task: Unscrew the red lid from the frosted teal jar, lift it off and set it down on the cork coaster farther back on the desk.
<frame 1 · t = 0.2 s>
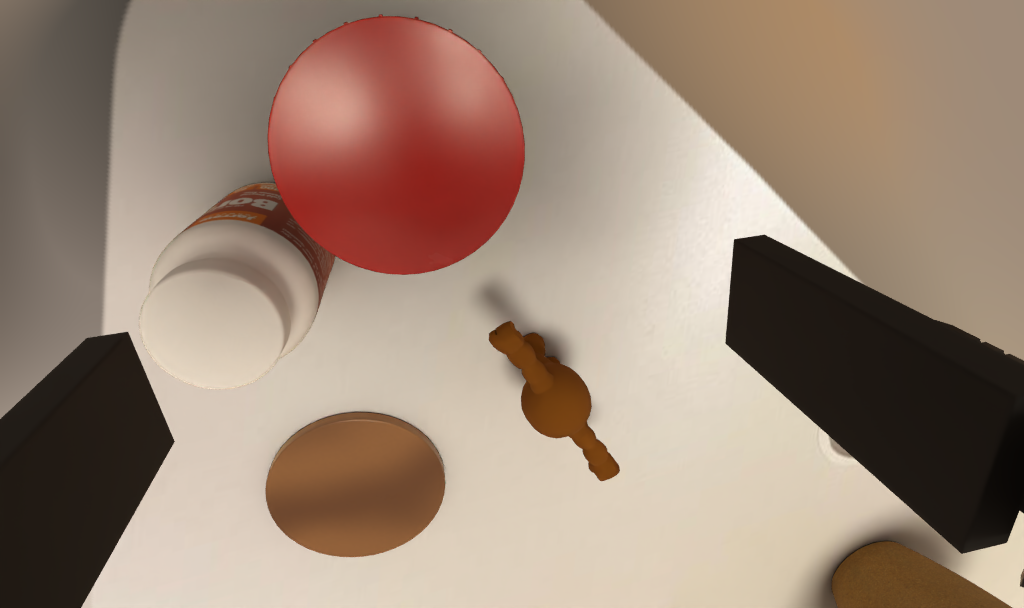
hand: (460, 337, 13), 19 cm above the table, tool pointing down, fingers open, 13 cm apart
toy figurine: (535, 356, 35), on the table
plant pot: (864, 571, 51), on the table
coaster: (358, 483, 37), on the table
pill bottle: (276, 238, 30), on the table
cap: (401, 154, 18), point 11 cm above the table, screwed on, not yet turned
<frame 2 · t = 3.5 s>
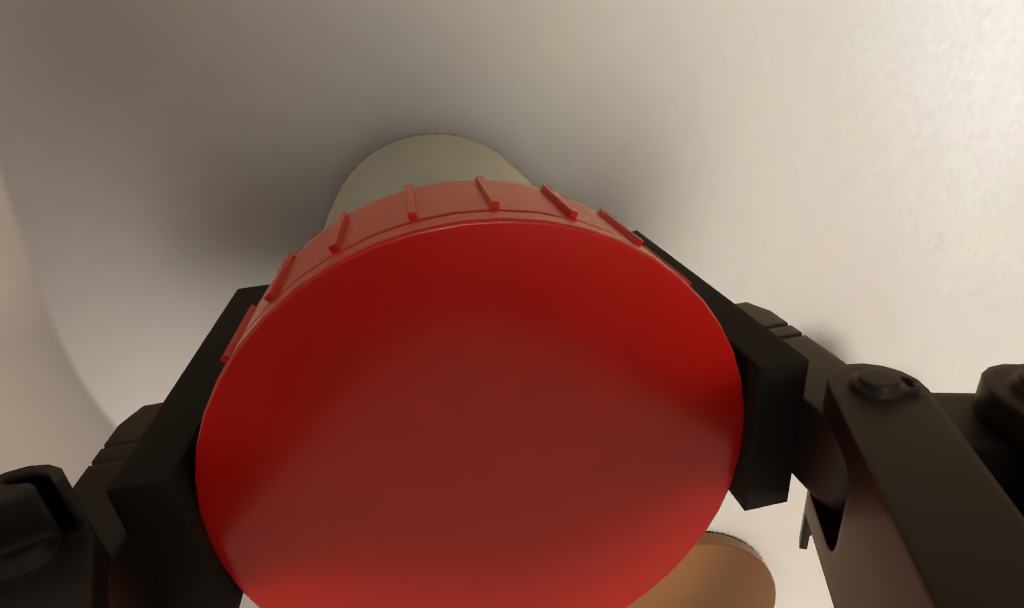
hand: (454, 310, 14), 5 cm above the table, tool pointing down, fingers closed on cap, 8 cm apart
jar: (438, 243, 19), on the table
cap: (489, 466, 9), point 11 cm above the table, screwed on, not yet turned, touching gripper
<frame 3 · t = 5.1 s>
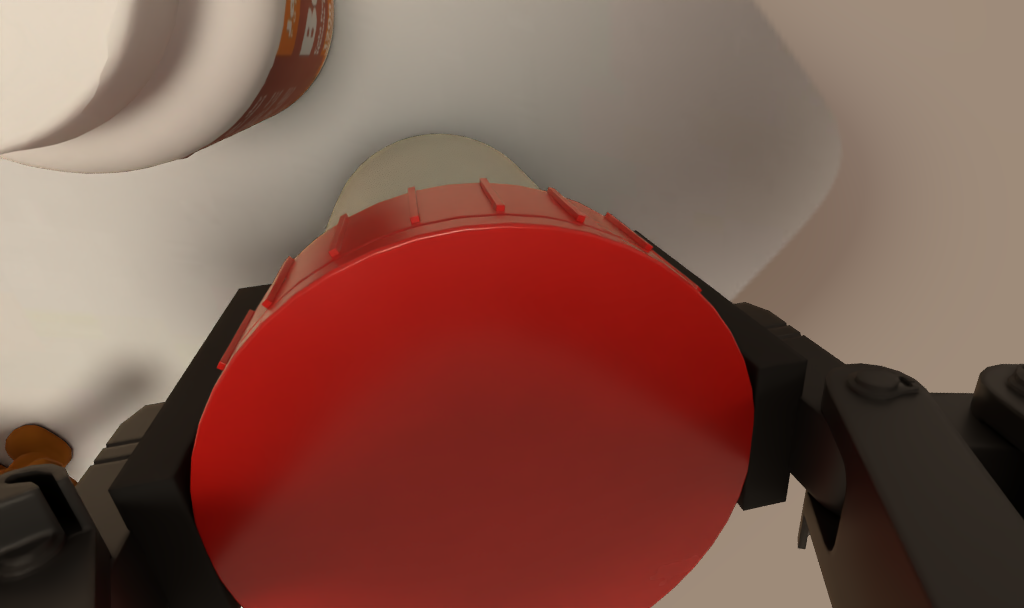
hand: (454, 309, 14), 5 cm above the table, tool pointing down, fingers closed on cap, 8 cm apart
toy figurine: (18, 456, 19), on the table
jar: (441, 243, 19), on the table
cap: (492, 476, 8), point 11 cm above the table, turned 130° so far, risen 0.2 cm, still on its thread, touching gripper
when the fingers open (5 cm above the table, at t = 5.5 s): cap stays where it is, point 11 cm above the table.
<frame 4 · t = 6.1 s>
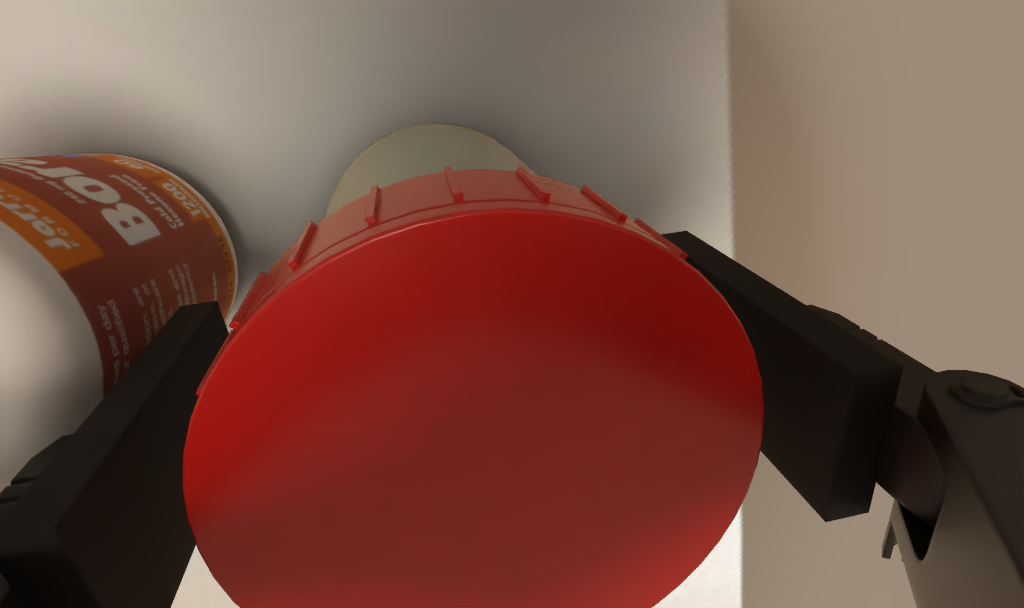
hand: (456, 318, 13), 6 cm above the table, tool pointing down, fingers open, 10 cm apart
jar: (440, 236, 18), on the table
pill bottle: (135, 259, 17), on the table, touching gripper
cap: (494, 471, 8), point 11 cm above the table, turned 130° so far, risen 0.2 cm, still on its thread
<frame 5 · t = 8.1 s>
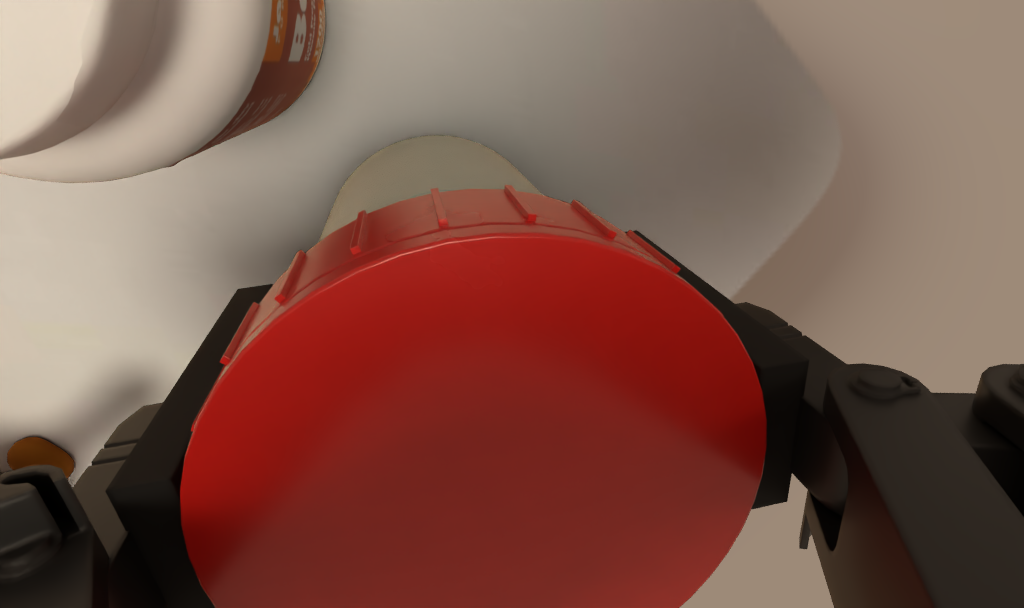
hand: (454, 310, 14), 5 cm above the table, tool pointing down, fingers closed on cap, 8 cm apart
toy figurine: (21, 468, 19), on the table
jar: (439, 245, 18), on the table
pill bottle: (205, 5, 15), on the table
cap: (495, 492, 8), point 11 cm above the table, turned 259° so far, risen 0.4 cm, still on its thread, touching gripper
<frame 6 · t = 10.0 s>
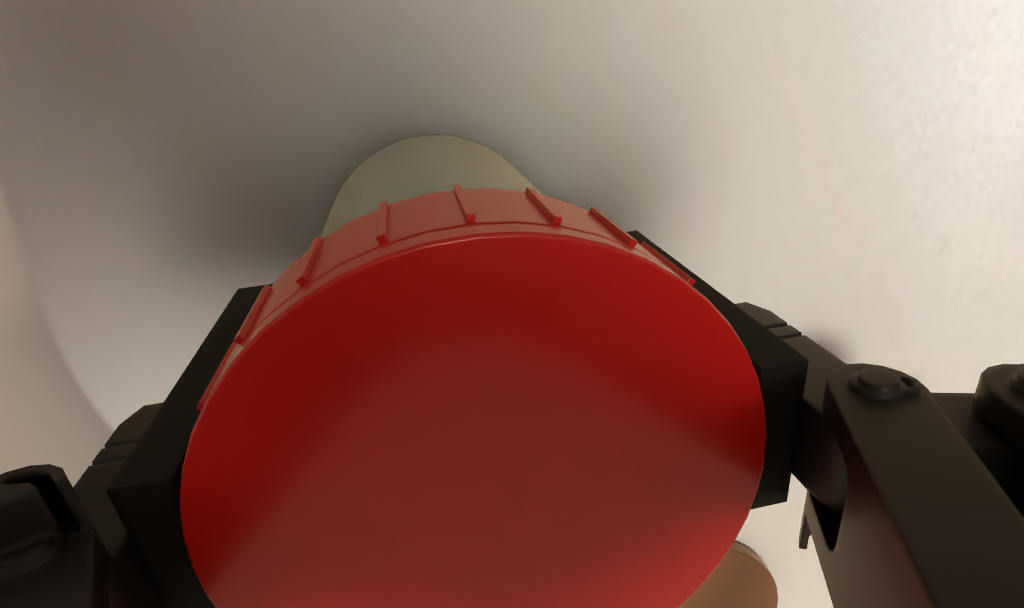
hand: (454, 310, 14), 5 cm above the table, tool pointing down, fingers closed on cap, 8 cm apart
jar: (439, 245, 18), on the table
cap: (495, 492, 8), point 11 cm above the table, turned 260° so far, risen 0.4 cm, still on its thread, touching gripper
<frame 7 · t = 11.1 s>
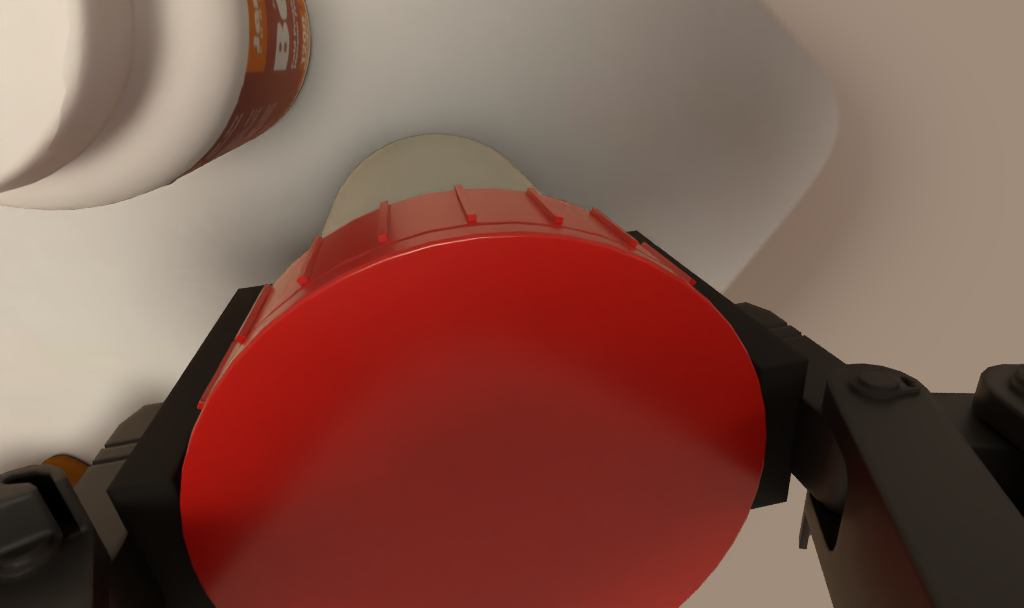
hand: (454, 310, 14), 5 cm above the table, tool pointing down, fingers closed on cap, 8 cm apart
toy figurine: (51, 486, 20), on the table
jar: (439, 244, 19), on the table
pill bottle: (192, 23, 15), on the table
cap: (495, 492, 8), point 12 cm above the table, off its thread, touching gripper
when the fingers open (3 cm above the table, at t = 18.6 s): cap drops 6 cm, resting on coaster.
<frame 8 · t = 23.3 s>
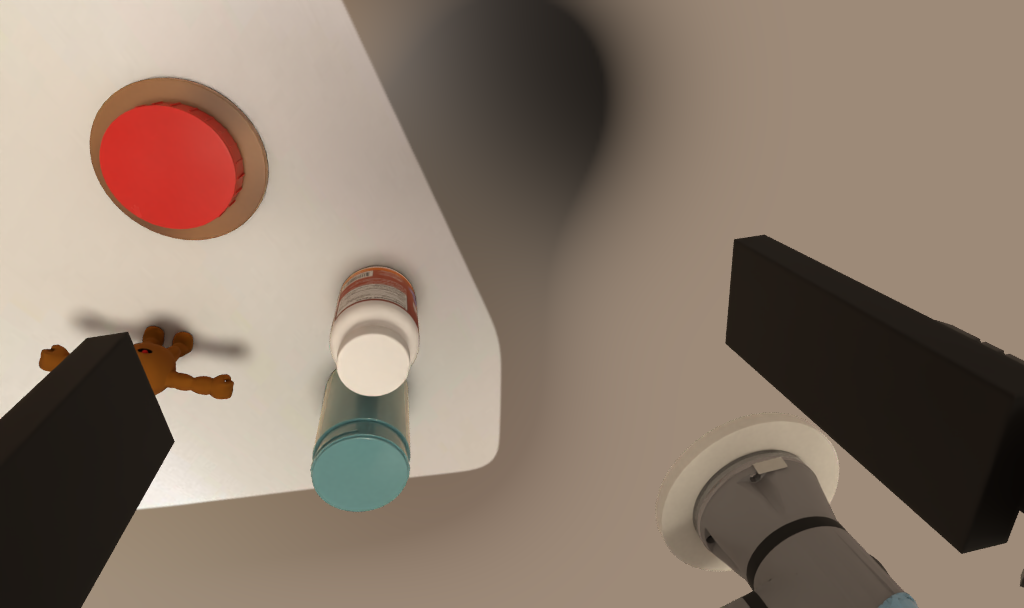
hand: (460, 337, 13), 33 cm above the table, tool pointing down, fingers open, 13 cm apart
toy figurine: (170, 336, 45), on the table
coaster: (184, 161, 40), on the table
jar: (367, 391, 50), on the table
pill bottle: (378, 298, 47), on the table
cap: (171, 168, 37), point 3 cm above the table, off its thread, touching coaster
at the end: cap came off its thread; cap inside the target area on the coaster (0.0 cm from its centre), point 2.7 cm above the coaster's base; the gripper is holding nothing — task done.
